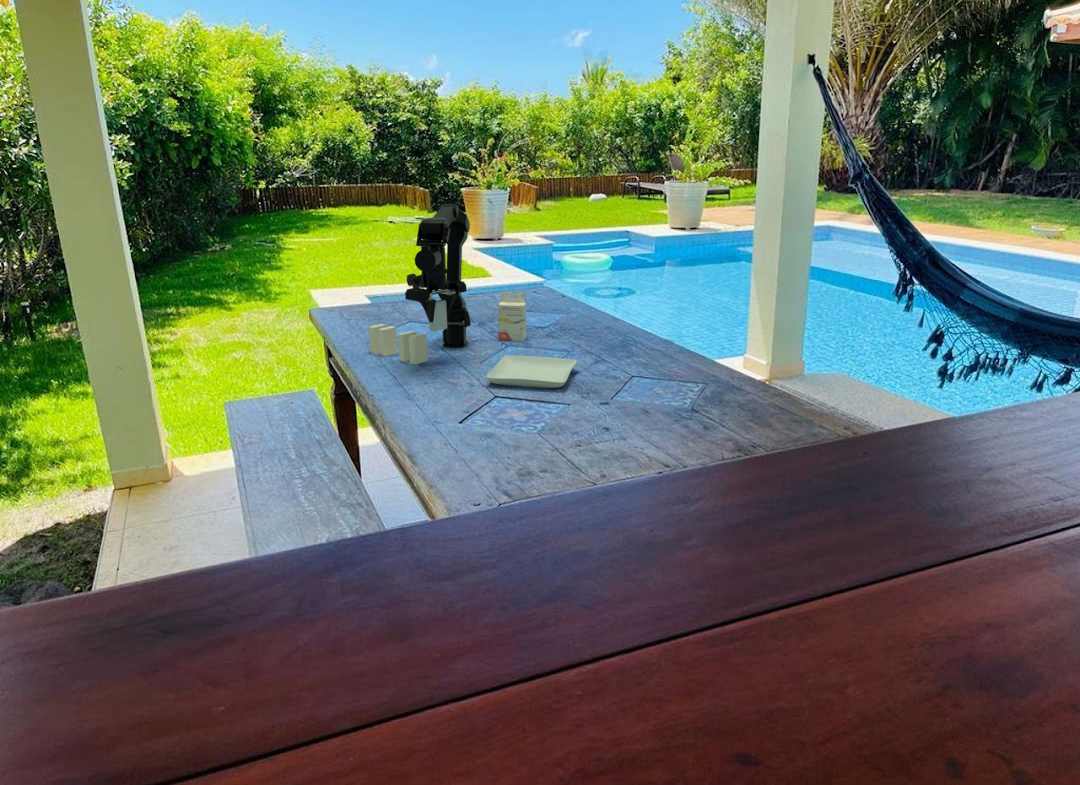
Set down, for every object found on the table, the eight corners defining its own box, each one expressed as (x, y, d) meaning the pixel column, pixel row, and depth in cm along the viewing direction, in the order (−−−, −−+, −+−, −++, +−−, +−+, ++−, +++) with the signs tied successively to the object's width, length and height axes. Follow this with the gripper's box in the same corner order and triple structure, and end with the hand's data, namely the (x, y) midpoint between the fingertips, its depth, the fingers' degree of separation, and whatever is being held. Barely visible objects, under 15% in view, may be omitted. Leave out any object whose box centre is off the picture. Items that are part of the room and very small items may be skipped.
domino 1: (370, 352, 232) (368, 326, 229) (383, 349, 235) (381, 323, 233) (374, 353, 230) (372, 327, 228) (387, 350, 234) (385, 324, 231)
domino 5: (429, 330, 217) (428, 302, 214) (442, 327, 220) (441, 299, 218) (434, 331, 216) (433, 303, 213) (447, 328, 219) (446, 300, 217)
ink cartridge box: (498, 340, 245) (497, 295, 240) (500, 337, 250) (499, 292, 245) (524, 341, 244) (524, 295, 239) (526, 337, 249) (526, 292, 244)
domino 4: (410, 363, 221) (408, 336, 218) (423, 359, 224) (421, 333, 222) (414, 364, 219) (413, 337, 217) (427, 360, 223) (426, 334, 220)
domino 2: (379, 355, 229) (378, 329, 226) (393, 351, 232) (391, 326, 230) (384, 356, 228) (382, 330, 225) (397, 353, 231) (395, 327, 229)
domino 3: (399, 360, 223) (398, 333, 221) (412, 357, 227) (411, 330, 224) (404, 361, 222) (402, 335, 220) (417, 358, 226) (416, 331, 223)
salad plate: (565, 393, 195) (565, 381, 194) (484, 388, 199) (484, 376, 198) (578, 370, 215) (578, 358, 214) (504, 366, 219) (504, 354, 218)
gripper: (439, 258, 224) (441, 311, 229) (390, 266, 210) (393, 322, 215) (466, 262, 217) (468, 316, 222) (418, 271, 203) (421, 328, 209)
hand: (437, 320), depth 217 cm, fingers closed on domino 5, 5 cm apart
